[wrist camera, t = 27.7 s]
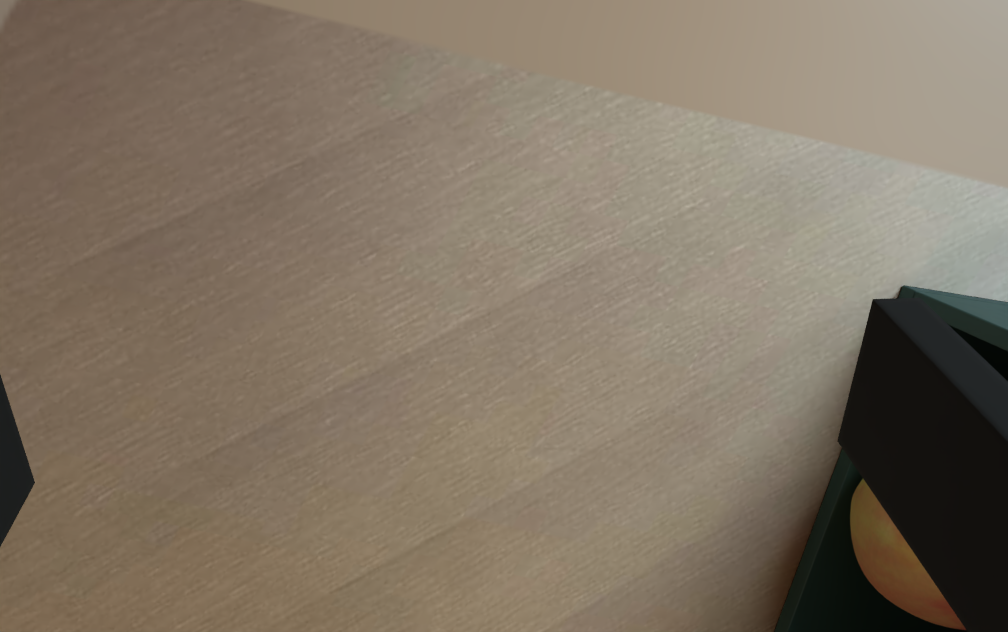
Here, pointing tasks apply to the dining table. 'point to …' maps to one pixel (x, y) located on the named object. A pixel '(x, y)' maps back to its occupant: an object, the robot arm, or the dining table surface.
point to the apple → (894, 562)
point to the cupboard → (829, 551)
